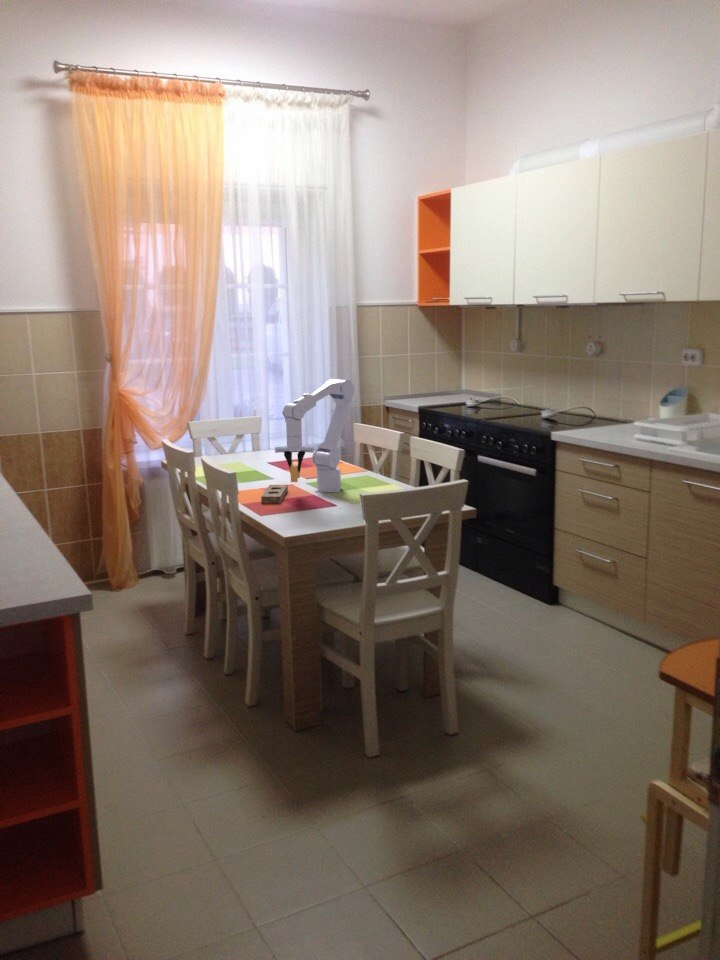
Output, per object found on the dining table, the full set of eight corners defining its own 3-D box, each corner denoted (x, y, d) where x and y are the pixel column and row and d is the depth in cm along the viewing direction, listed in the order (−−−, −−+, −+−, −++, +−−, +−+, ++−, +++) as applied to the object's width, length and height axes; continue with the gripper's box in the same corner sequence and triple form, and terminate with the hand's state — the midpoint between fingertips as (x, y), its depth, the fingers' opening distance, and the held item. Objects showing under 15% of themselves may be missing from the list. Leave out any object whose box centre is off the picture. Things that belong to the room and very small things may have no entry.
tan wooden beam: (300, 476, 317) (299, 461, 316) (297, 482, 307) (296, 466, 306) (293, 476, 317) (293, 461, 316) (290, 482, 307) (290, 466, 306)
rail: (287, 490, 324) (287, 484, 323) (280, 503, 304) (280, 496, 303) (269, 490, 324) (269, 484, 323) (261, 503, 304) (261, 496, 304)
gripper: (273, 437, 305) (274, 473, 308) (312, 437, 304) (313, 473, 307) (276, 434, 312) (277, 469, 315) (314, 434, 311) (315, 469, 314)
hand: (295, 471), depth 311 cm, fingers closed on tan wooden beam, 2 cm apart
